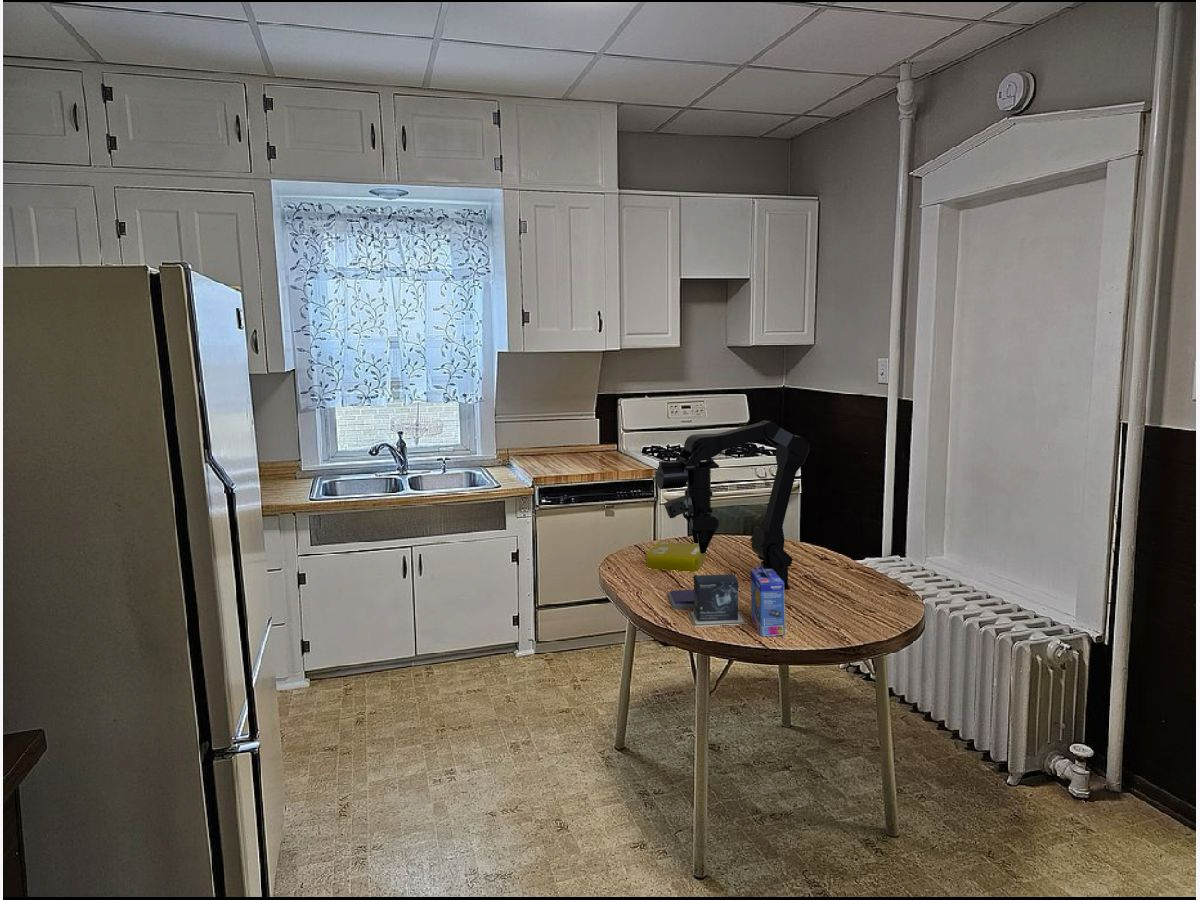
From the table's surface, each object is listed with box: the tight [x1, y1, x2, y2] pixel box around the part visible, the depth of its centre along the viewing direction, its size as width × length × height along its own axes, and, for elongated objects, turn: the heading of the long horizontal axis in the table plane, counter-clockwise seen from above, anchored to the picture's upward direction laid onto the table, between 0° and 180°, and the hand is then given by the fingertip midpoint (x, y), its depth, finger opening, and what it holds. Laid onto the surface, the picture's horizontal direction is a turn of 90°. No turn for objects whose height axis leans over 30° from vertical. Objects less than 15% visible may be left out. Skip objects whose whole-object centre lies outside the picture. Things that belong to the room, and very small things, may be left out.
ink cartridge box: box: [750, 562, 786, 637], centre depth 165 cm, size 10×6×14 cm, turn 2°
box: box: [693, 573, 739, 621], centre depth 172 cm, size 9×6×10 cm, turn 93°
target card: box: [687, 608, 748, 628], centre depth 173 cm, size 12×9×1 cm
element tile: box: [645, 541, 707, 573], centre depth 216 cm, size 15×15×5 cm
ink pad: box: [667, 589, 694, 610], centre depth 184 cm, size 9×9×2 cm
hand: (699, 548), depth 187 cm, fingers open, 9 cm apart
